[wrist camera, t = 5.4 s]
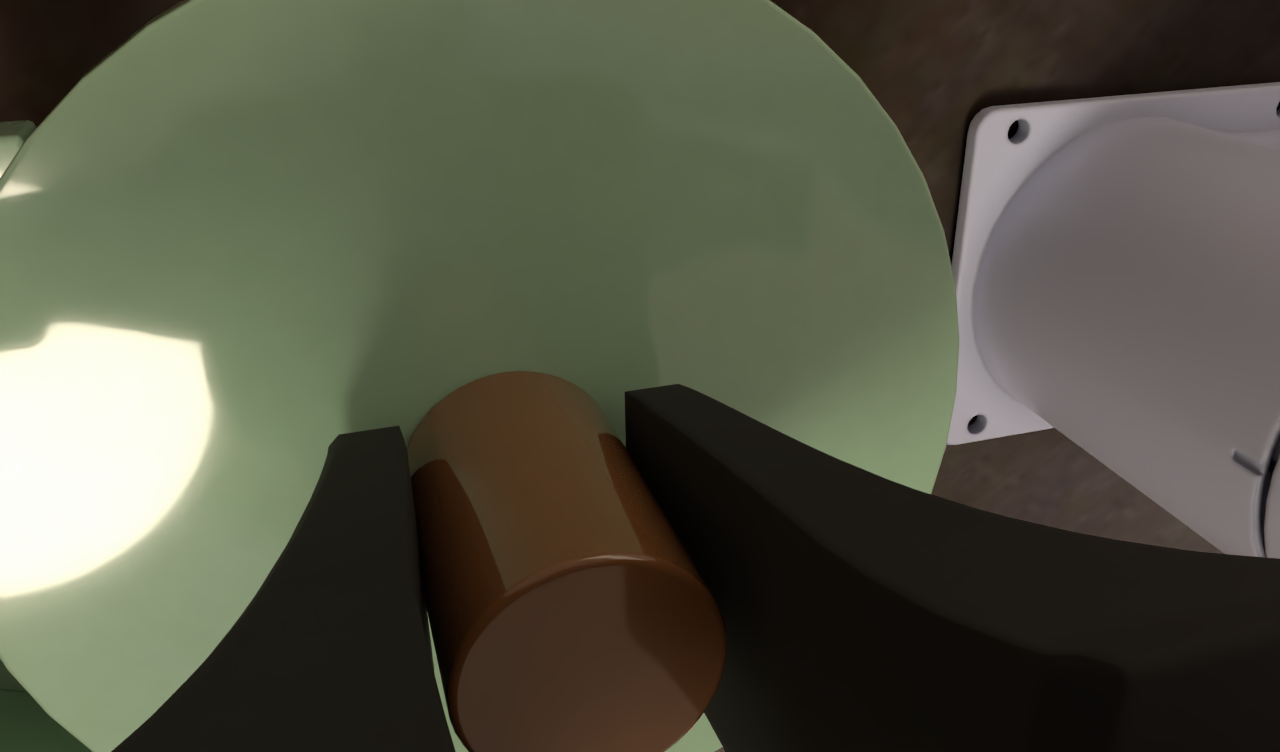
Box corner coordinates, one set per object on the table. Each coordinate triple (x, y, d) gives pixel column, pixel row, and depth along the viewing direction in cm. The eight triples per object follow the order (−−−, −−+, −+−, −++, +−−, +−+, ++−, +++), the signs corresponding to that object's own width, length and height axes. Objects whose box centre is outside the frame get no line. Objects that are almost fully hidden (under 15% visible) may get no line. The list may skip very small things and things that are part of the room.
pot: (320, 55, 19) (339, 123, 14) (411, 736, 26) (444, 931, 21) (-386, 97, 16) (-642, 197, 12) (-77, 843, 23) (-162, 1093, 19)
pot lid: (961, -104, 12) (1311, -78, 8) (879, 686, 17) (1070, 949, 13) (-218, -66, 9) (-596, 6, 5) (93, 871, 14) (22, 1283, 10)
